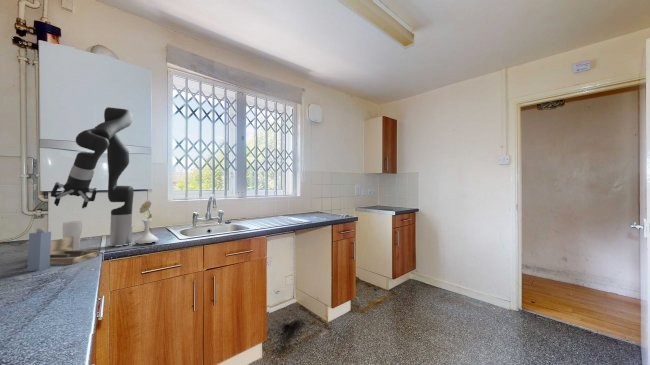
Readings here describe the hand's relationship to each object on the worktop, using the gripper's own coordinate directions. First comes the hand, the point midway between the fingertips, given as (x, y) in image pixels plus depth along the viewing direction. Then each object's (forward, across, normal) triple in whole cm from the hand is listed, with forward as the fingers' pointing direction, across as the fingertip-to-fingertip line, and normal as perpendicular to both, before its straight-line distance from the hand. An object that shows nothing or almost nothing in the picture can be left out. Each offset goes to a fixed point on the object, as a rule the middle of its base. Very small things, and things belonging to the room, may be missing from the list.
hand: (70, 206), depth 115 cm
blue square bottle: (+14, +5, +26) cm, 29 cm away
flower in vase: (+20, -36, 0) cm, 41 cm away
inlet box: (+16, -5, +17) cm, 24 cm away
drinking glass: (+26, -6, 0) cm, 26 cm away
